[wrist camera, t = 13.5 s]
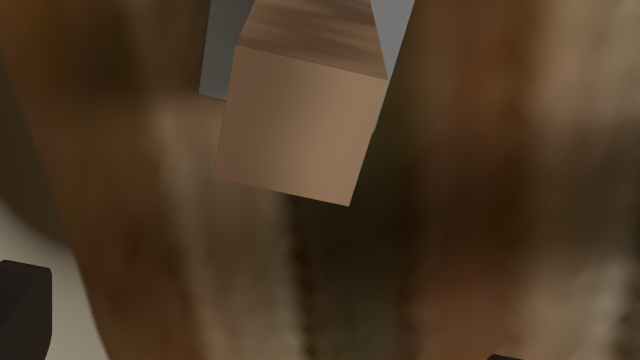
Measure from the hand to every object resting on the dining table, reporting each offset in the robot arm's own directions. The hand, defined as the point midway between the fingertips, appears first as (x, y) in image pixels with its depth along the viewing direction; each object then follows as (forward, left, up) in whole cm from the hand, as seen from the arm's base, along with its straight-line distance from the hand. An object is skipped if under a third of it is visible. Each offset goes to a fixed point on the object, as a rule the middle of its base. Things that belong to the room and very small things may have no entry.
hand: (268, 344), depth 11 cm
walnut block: (0, 0, -20) cm, 20 cm away
